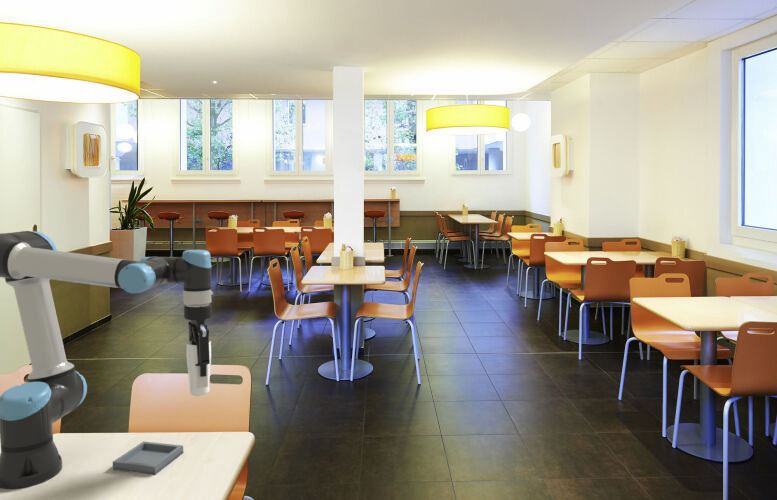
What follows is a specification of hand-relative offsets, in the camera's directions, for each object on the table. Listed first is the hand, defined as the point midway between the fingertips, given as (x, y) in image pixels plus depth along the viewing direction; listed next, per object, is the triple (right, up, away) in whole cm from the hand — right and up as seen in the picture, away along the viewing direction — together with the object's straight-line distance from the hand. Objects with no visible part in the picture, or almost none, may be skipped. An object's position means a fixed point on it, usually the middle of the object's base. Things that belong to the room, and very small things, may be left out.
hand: (199, 383), depth 158 cm
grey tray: (-13, -21, -4) cm, 25 cm away
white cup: (0, -3, 0) cm, 3 cm away
